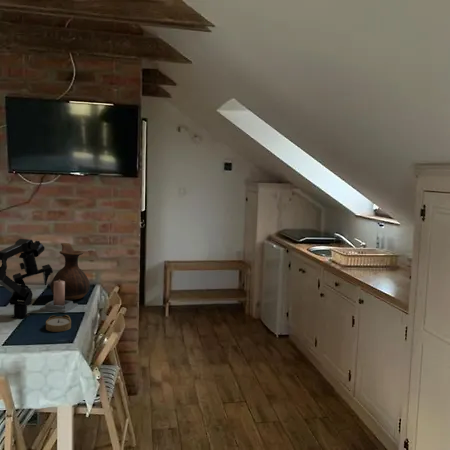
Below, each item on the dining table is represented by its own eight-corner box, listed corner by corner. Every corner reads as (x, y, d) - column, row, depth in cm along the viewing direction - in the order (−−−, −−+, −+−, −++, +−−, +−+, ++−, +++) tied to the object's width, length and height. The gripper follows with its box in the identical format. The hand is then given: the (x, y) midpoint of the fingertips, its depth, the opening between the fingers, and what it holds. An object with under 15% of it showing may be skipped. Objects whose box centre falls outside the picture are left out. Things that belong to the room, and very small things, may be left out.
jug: (95, 294, 298) (96, 244, 295) (81, 303, 277) (82, 249, 274) (60, 291, 300) (60, 242, 297) (43, 300, 279) (44, 247, 276)
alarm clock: (44, 326, 227) (47, 311, 241) (44, 336, 228) (47, 320, 242) (70, 325, 230) (72, 311, 244) (70, 335, 231) (71, 320, 245)
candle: (65, 306, 265) (65, 280, 264) (54, 307, 263) (54, 281, 261) (63, 304, 270) (63, 278, 269) (52, 305, 267) (52, 278, 266)
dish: (65, 312, 259) (65, 307, 258) (40, 310, 261) (40, 305, 261) (77, 305, 272) (77, 300, 272) (53, 303, 275) (53, 298, 274)
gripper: (44, 250, 263) (50, 275, 270) (7, 260, 255) (14, 286, 262) (49, 258, 255) (56, 284, 262) (11, 270, 246) (18, 296, 253)
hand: (36, 287), depth 260 cm, fingers open, 9 cm apart
